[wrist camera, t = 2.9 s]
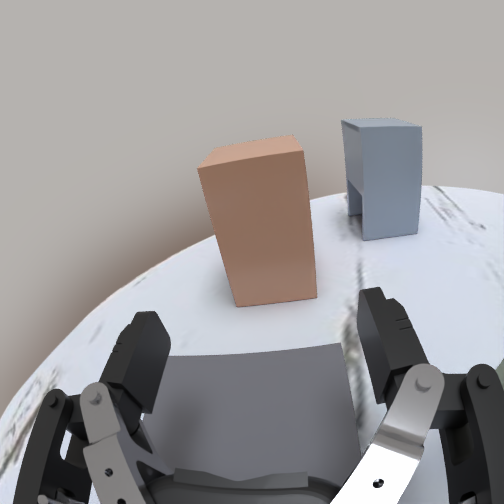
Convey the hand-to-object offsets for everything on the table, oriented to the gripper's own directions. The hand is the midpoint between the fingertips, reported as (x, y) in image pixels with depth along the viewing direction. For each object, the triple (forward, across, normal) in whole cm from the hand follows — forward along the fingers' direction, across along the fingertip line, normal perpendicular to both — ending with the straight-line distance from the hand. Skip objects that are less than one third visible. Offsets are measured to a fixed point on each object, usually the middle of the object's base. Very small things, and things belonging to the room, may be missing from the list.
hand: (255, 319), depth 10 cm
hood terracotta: (+11, 0, +7) cm, 13 cm away
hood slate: (+18, -12, +7) cm, 23 cm away
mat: (-3, +2, +7) cm, 8 cm away
